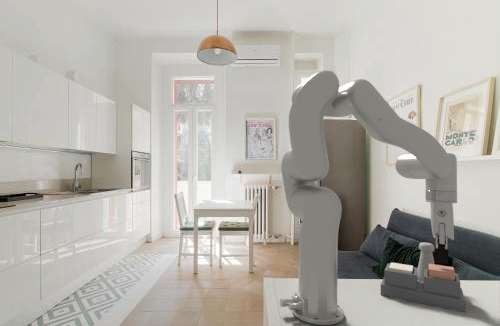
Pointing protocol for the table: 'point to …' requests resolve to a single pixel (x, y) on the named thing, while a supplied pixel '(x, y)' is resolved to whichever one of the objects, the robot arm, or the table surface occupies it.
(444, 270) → the terracotta key
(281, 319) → the table surface
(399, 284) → the key panel
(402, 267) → the ivory key
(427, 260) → the salt shaker
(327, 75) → the robot arm
